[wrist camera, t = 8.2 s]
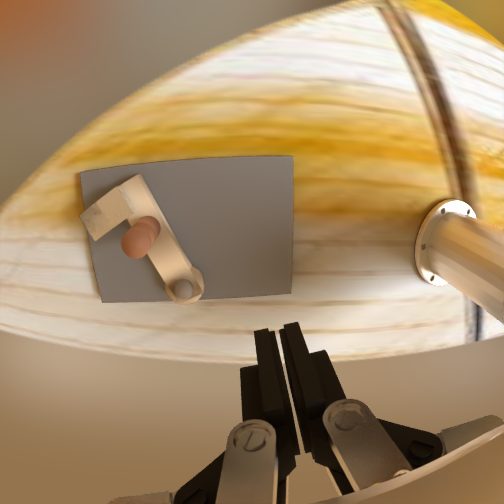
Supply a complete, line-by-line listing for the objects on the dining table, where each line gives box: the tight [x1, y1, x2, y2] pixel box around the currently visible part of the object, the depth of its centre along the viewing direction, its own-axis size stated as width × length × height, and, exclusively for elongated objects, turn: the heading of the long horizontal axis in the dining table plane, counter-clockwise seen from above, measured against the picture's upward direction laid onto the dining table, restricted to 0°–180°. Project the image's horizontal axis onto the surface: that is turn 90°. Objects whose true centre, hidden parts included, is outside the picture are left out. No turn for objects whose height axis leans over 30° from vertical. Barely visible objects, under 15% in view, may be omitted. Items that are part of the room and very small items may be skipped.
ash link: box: [120, 174, 204, 304], centre depth 26 cm, size 14×4×7 cm, turn 25°
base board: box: [80, 156, 293, 303], centre depth 31 cm, size 22×15×2 cm
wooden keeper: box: [79, 185, 136, 241], centre depth 27 cm, size 3×5×3 cm, turn 119°
